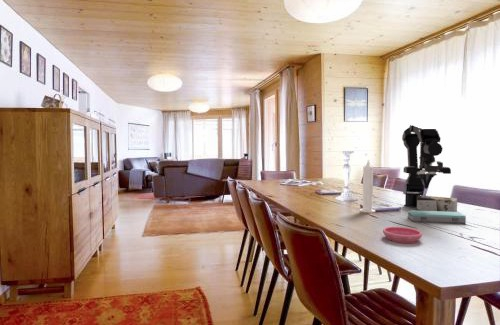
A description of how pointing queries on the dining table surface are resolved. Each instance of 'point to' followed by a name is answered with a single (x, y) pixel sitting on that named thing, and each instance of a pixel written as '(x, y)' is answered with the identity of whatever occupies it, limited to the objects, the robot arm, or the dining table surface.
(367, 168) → the candle
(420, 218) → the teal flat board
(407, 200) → the robot arm
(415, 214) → the cover
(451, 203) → the coffee box
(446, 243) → the dining table surface
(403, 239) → the saucer
